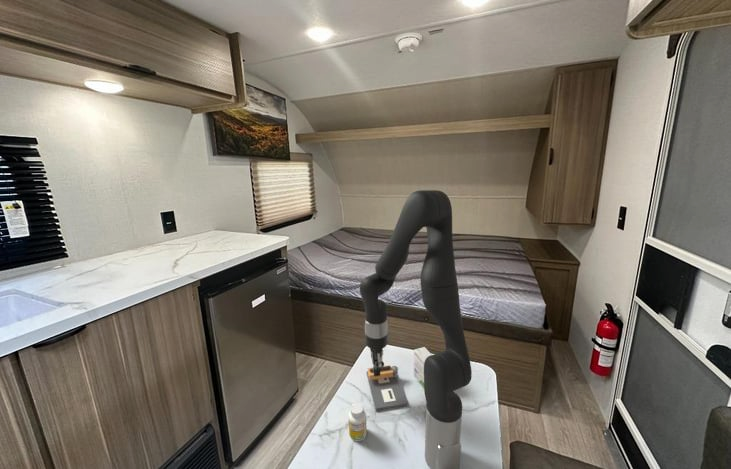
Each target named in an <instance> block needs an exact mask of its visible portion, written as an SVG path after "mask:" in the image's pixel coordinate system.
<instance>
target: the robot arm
mask: <svg viewBox="0 0 731 469" xmlns="http://www.w3.org/2000/svg"><path fill="white" fill-rule="evenodd" d="M423 228H426V235H427V249H426V254H425V257H424V260H423V264H422V268H421V273H420V278H419V280H420V289H421V298H422V303H423V305H424V308H425V309H426V311H427V313H428V314H429V315H430V316H431V318H432V319H433V320H434V321H435V322H436V323H437V325H438V326H439V328H440V329H441V332H442V335H443V338H444V342H445V350H444V351H441V352H438V353H434V354H432V355H431V356H428V357H427V358H426V360H425V362H424V388H423V390H424V397H425V404H426V405H425V428H424V429H425V431H424V432H425V435H424V438H425V439H424V458H425V462H426V464H427V466H428V467H429V468H430V469H460V467H461V466H460V465H461V453H462V444H461V436H462V435H461V434H462V432H461V431H462V418H463V417H462V415H463V402H462V399H461V398H460V396H459V395H458V393H456V392H455V391H458V390H460V389H462V388H465V387H466V386H468V385H469V384H470V382H471V380H472V377H473V376H472V375H473V374H472V373H473V372H472V365H471V361H470V360H471V359H470V354H469V350H468V346H467V341H466V337H465V332H464V325H463V320H462V312H461V311H462V310H461V306H460V305H461V304H460V293H459V286H458V278H457V271H456V263H455V252H454V244H453V241H454V240H453V207H452V204H451V200H450V197H449V196H448V194H446V193H445V192H443V191H441V190H439V189H438V190H435V189H433V190H432V189H431V190H429V189H428V190H427V189H426V190H416V191H414V192H412V193H411V194H409V196H408V197H407V199H406V200H405V202H404V204H403V207H402V208H401V211H400V214H399V216H398V219H397V222H396V224H395V227H394V228H393V232H392V234H391V237H390V239H389V241H388V244H387V245H386V247H385V248H384V249H383V251H382V254H381V255H380V257H379V258H378V260H377V262H376V264H375V268H374V269H375V273H373V274H370V275H368V276H366V277H364V278H363V279H361V282H360V284H359V294H360V298H361V300H362V304H363V307H364V308H365V311H364V313H365V315H364V317H365V321H364V343H365V346H366V347H368V348H369V350H370V358H371V364H372V368H373V373H374V376H380V369H382V368H383V366H385V362H384V361H383V357H384V356H383V355H384V349H385V347H387V345H388V342H389V341H388V340H389V339H388V325H389V324H388V313H387V312H388V310H387V306H388V305H387V304H386V302H385V301H384V300H383V299H379V297H380V296H382V295H384V294H386V293H388V291H389V290H390V289H391V288H392V287H393V285H394V282H395V280H396V278H397V275H398V274H399V272H401V269H402V268H403V266H404V265H405V264H406V262H407V260H408V258H409V253H410V245H411V243H412V241H413V239H414V238H415V236H416V235H417V234H418V233H419V232H420V231H422V229H423Z"/></svg>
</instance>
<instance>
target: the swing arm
mask: <svg viewBox="0 0 731 469" xmlns="http://www.w3.org/2000/svg"><path fill="white" fill-rule="evenodd" d="M398 370H399V368H398V366H397V365H392V366H391V364H389V365H388V364H387V365H384V366H383V368H382V369H380V376H374V373H373V367H368V368H367V371H368V376H369V380H375V379H381V378H388V377H393V375H397V376H398V375H399V374H398V373H399V371H398Z"/></svg>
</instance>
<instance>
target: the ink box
mask: <svg viewBox="0 0 731 469" xmlns="http://www.w3.org/2000/svg"><path fill="white" fill-rule="evenodd" d="M431 355H433V354H432V353H431V352H430V350H428V349H427V348H426V347H425V346H423V347H419V348H415V349H414V350H413V377H414V378H415V379H416V380H417V381H418V382H419V384H420V386H421V387H422V388H423V389H424V362H425V360H426V358H427V357H428V356H431Z"/></svg>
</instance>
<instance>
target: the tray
mask: <svg viewBox="0 0 731 469" xmlns="http://www.w3.org/2000/svg"><path fill="white" fill-rule="evenodd" d="M366 376H367V377H366V378H367V381H368V385H369V389H370V393H371V397H372V398H371V399H372V402H373V407H374V410H375V412H380V411H386V410H391V409H392V410H393V409H399V408H405V407H408V402H407V399H406V396H405V395H404V391H403V389H402V387H401V383H400V381H399V378H398V374H397V375H393V377H388V378H381V379H375V380H369V376H368V370H367V371H366Z"/></svg>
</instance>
